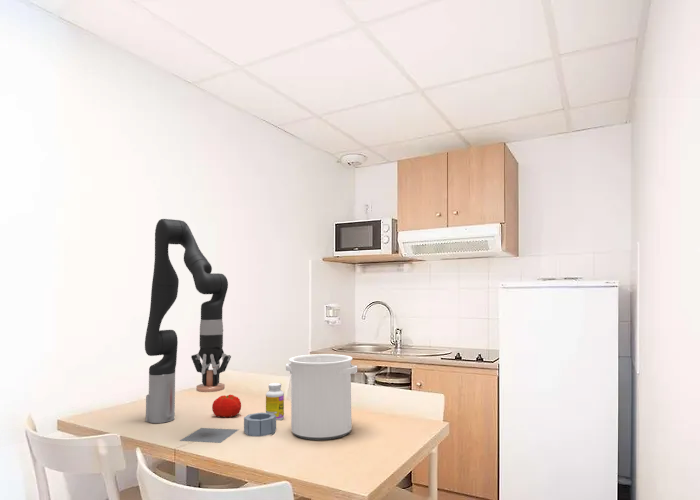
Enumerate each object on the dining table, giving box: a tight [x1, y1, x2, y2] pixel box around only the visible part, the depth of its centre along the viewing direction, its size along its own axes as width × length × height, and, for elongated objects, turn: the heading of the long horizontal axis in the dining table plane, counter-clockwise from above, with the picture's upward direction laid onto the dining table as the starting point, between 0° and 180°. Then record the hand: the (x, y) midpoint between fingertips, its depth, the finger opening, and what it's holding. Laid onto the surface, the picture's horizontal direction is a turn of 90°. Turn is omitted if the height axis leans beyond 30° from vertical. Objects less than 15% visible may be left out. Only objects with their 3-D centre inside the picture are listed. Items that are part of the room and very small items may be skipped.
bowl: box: [243, 412, 277, 437], centre depth 161 cm, size 10×10×6 cm
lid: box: [196, 369, 226, 393], centre depth 160 cm, size 9×9×6 cm
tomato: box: [211, 394, 242, 419], centre depth 184 cm, size 11×11×8 cm
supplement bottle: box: [265, 382, 285, 421], centre depth 178 cm, size 7×7×13 cm
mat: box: [179, 427, 239, 444], centre depth 158 cm, size 14×14×1 cm
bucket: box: [285, 353, 358, 441], centre depth 163 cm, size 26×22×24 cm
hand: (210, 385), depth 160 cm, fingers closed on lid, 2 cm apart
